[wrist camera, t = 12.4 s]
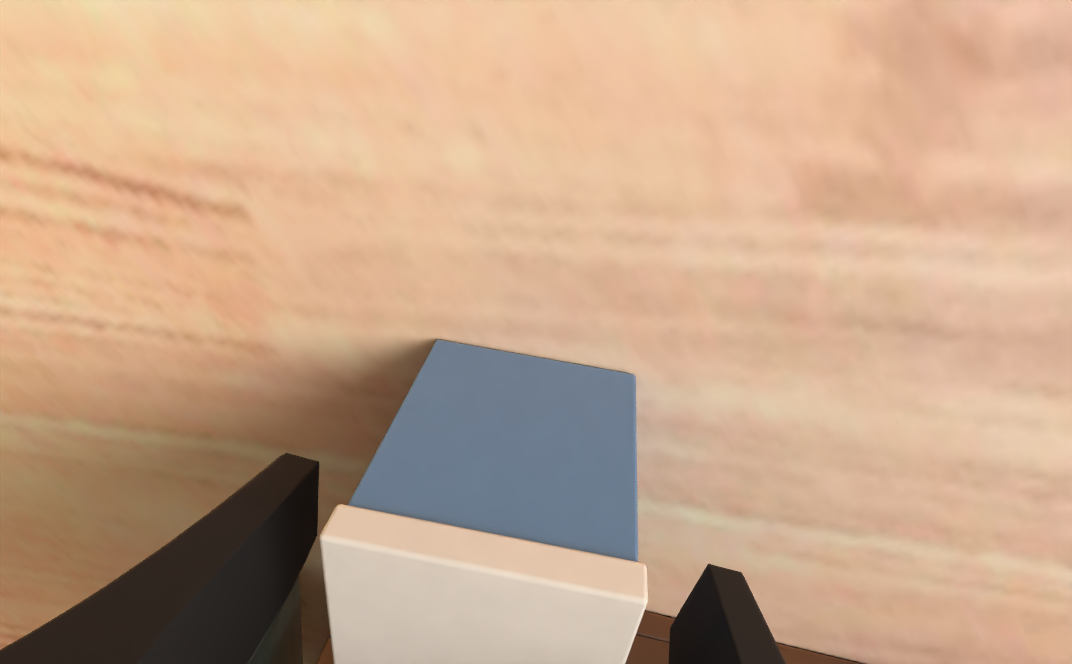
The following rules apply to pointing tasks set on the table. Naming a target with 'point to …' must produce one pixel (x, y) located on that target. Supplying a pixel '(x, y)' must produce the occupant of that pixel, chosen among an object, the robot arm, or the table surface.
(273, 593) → the robot arm
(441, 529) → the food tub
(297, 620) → the drawer
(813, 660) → the cabinet
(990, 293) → the table surface
